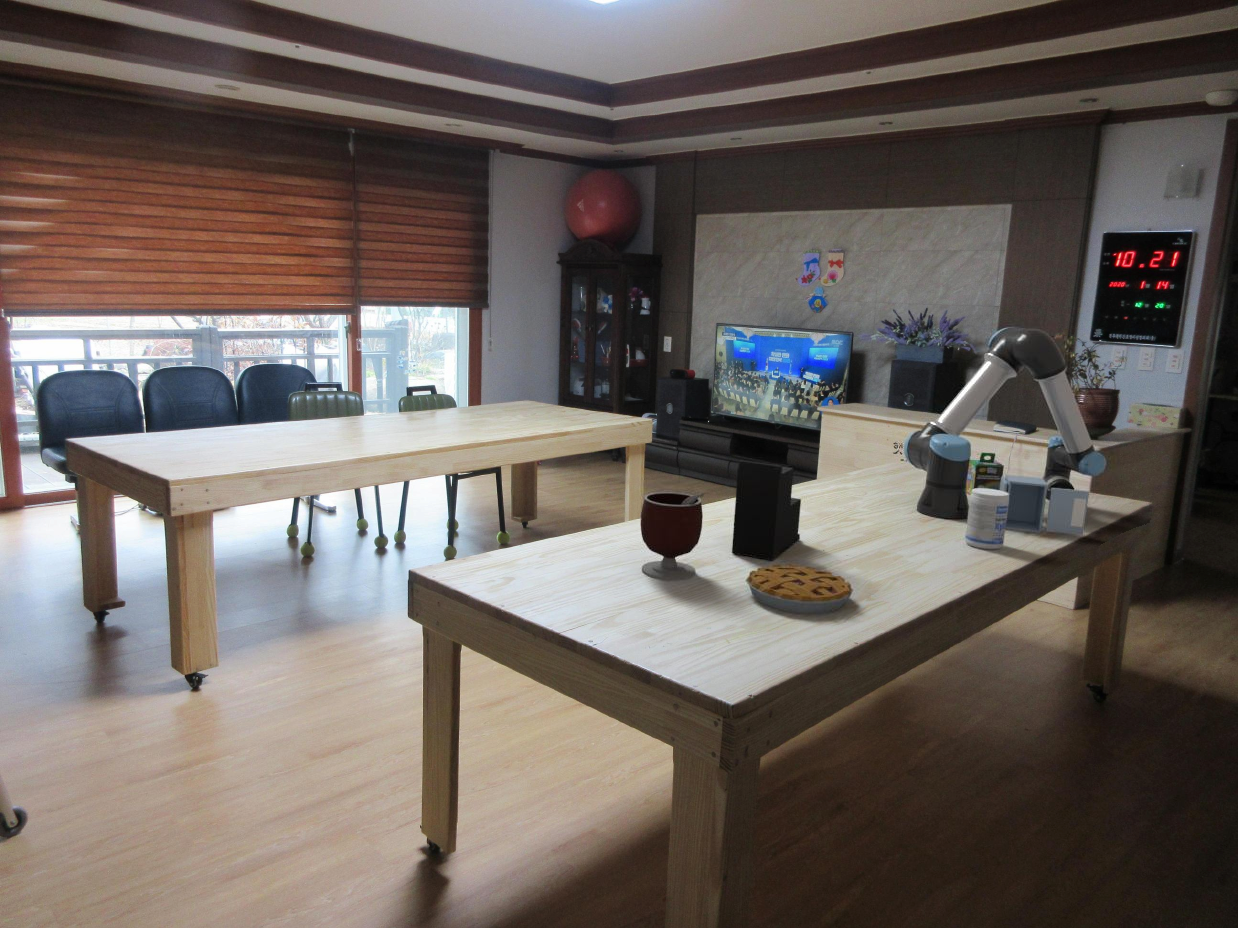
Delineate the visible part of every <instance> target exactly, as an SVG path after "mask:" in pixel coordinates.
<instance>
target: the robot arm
mask: <svg viewBox="0 0 1238 928" xmlns="http://www.w3.org/2000/svg"><path fill="white" fill-rule="evenodd" d="M983 355H984V358H983V359H984V362H983V363H982V364H981V366H980V367H979V368H978V370H977V371H976V372H975V373H974V374H973V375H972V377H970V379H969V380H968V381H967V383H966V384H965V385H964V387H962V388H961V390H960V391H959V392H958V393H957V395H956V396H955V397H954V398H953V399H952V401H951V402H950V403H949V404H948V405H947V407H946V408H945V409H944V410H942V411H943V412H941V414H939V416H938V417H937V418H936V420H931V421H928V422H927V423H926V424H925V425H924V426H923V428H921V429H920V430H915V431H913V432H912V433H910V434H909V435H908V436H907V438H906V439H905V440H904V445H903V454H904V457H905V459H906V461H907V462H908V463H910V464H911V465H912V466H914V468H916V469H918V470H922V471H924V472H926V479H925V485H924V488H923V490H922V492H921V495H920V496H919V499H918V500H917V504H916V511H917V512H919V513H920V514H922V515H926V516H930V517H936V518H941V519H953V520H955V519H958V520H959V519H966V518H967V519H968V512H969V503H970V502H969V499H968V495H967V494H968V493H967V492H966V485H967V477H968V469H969V462H970V460H971V456H972V444H971V442H970V441H969V439H966V438H964V437H963V436H961V434H962V433H963V432H964V431H965V430H966V429H967V427H968V426H969V425H970V423H971V422H972V421H973V420H974V419H975V418H976V416H978V414H979V413H980V412H981V411H982V410H983V408H984V407H985V406H986V405H987V404H988V403H989V401H990V400H991V399H992V398H993V396H994V395H996V393H997V391H999V389H1000V388H1001V387H1002V386H1003V385H1004V383H1005V382H1006V381H1007V380H1008V379H1012V378H1016V377H1017V376H1018V374H1020V372H1021V371H1022V370H1023V369H1024V368H1026V369H1027V370H1028V371H1029V372H1030V374H1031V377H1032V378H1033V380H1035V382H1036V381H1037V382H1038V384H1039V386H1040V389H1041V391H1042V393H1043V396H1044V399H1045V401H1046V403H1047V406H1048V409H1049V411H1050V414H1051V416H1052V418H1053V421H1054V423H1055V426H1056V428H1057V430H1058V434H1059V435H1054V436H1051V437H1050V438H1049V442H1048V446H1047V454H1046V463H1045V468H1044V472H1043V476H1042V478H1043V480H1044V481H1045V482H1046V483H1047V485H1048V487H1047V494H1046V500H1047V501H1049V502H1050V495H1051V488H1058V489H1070V490H1076V489H1075V487H1074V486H1073V484H1072V483H1071V482H1070V480H1071V471H1073V472H1075V473H1078V474H1081V475H1084V476H1089V477H1097V476H1099V475H1101V474H1102V473H1103V472H1104V470H1105V469H1106V466H1107V460H1106V457H1105V455H1103V454H1101V453H1100V452H1098V451H1096V449H1095V447H1094V444H1093V442H1092V440H1091V437H1090V434H1089V432H1088V429H1087V426H1086V423H1085V421H1084V418H1083V416H1082V413H1081V411H1080V408H1079V405H1078V402H1077V400H1076V397H1075V395H1074V393H1073V390H1072V387H1071V384H1070V382H1069V380H1068V376H1067V374H1066V371H1067V369H1068V367H1067V366H1068V365H1067V364H1066V362H1065V361H1066V360H1065V358H1064V356H1063V354H1062V351H1061V350H1060V348H1059V346H1058V345H1057V344H1056V342H1055V339H1053V338H1052V337H1051V335H1049V333H1047V332H1045V331H1044V330H1041V329H1037V328H1022V327H1021V326H1019V327H1018V326H1010V327H1005V328H1002V329H999V330H998V331H996V332H995V333H994V334H993V335H992V336H991V337H990V339H989V341H988V348H987V351H986V352H985V354H983Z"/></svg>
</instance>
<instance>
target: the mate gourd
mask: <svg viewBox="0 0 1238 928" xmlns="http://www.w3.org/2000/svg"><path fill="white" fill-rule="evenodd" d="M704 495H705V494H704V493H702V492H701V493H700V492H699V493H697V494H690V493H689V494H688V493H684V492H683V493H682V492H681V493H680V492H670V491H668V492H667V491H661V492H651V493H648V494H646V495H644V500H643V503H642V507H641V512H640V532H641V537H642V541H643V542H644V544H645V545H646V547H647V549H648V550H649V551H651V552H653V553H655V554H657V555H660V556H662V557H663V558H662V560H656V561H649V562H646V563H644V564H643V565H642V566H641V573H642V574H643V575H644V576H647V577H649V578H653V579H657V580H660V581H661V580H663V581H685V580H689V579H692V578H694V577H695V576H696V568H695V567H694V566H692V565H691V564H688V563H684V562H679V561H677V559H676V558H677V557H680V556H683V555H687V554H689V553H691V552H692V551H693V549H695V547H696V546H697V545H698V544H699V541H700V538H701V535H702V534H701V533H702V529H703V517H704V516H703V506H702V499H701V498H702V497H704Z"/></svg>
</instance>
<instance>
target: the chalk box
mask: <svg viewBox="0 0 1238 928" xmlns="http://www.w3.org/2000/svg"><path fill="white" fill-rule="evenodd" d="M985 457H990V458H988V459H985ZM995 458H996V453H994V452H981V453H980V458H979V459H970V462H969V469H968V477H967V485H966V494H968V495H970V496H971V492H972V489H975V488H986V489H995V490H1000V482H1001V477H1004V469H1005V468H1004V467H1005V466H1004V464H1002V463H1001V462H998V461H997V460H995Z"/></svg>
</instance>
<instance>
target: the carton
mask: <svg viewBox="0 0 1238 928" xmlns="http://www.w3.org/2000/svg"><path fill="white" fill-rule="evenodd" d="M1047 487H1048V485H1047V483H1046V482H1045V481H1044V480H1043V477H1034V476H1032V477H1031V476H1021V475H1012V474H1005V476H1003V477H1001V482H1000V491H1004V492H1007V493H1008V494H1009V504H1008V512H1007V519H1006V527H1005V530H1010V531H1011V530H1012V531H1020V532H1028V533H1029V532H1030V533H1037V534H1041V533H1042V528H1043V522H1044V521H1043V520H1044V513H1045V506H1046V500H1047V499H1046V494H1047Z"/></svg>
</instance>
